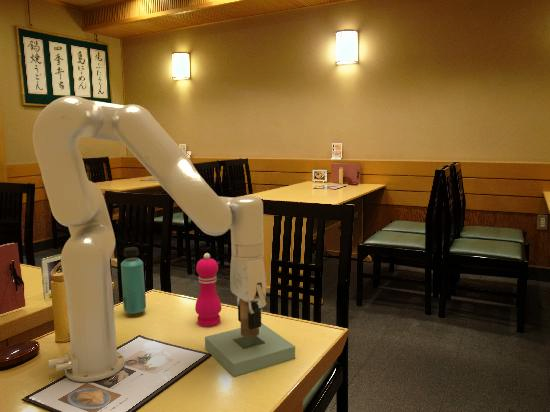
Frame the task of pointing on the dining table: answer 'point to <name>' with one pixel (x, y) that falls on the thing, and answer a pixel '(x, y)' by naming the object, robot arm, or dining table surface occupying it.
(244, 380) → the dining table surface
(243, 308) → the walnut peg
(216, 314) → the pepper mill
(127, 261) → the beverage bottle
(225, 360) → the socket board
